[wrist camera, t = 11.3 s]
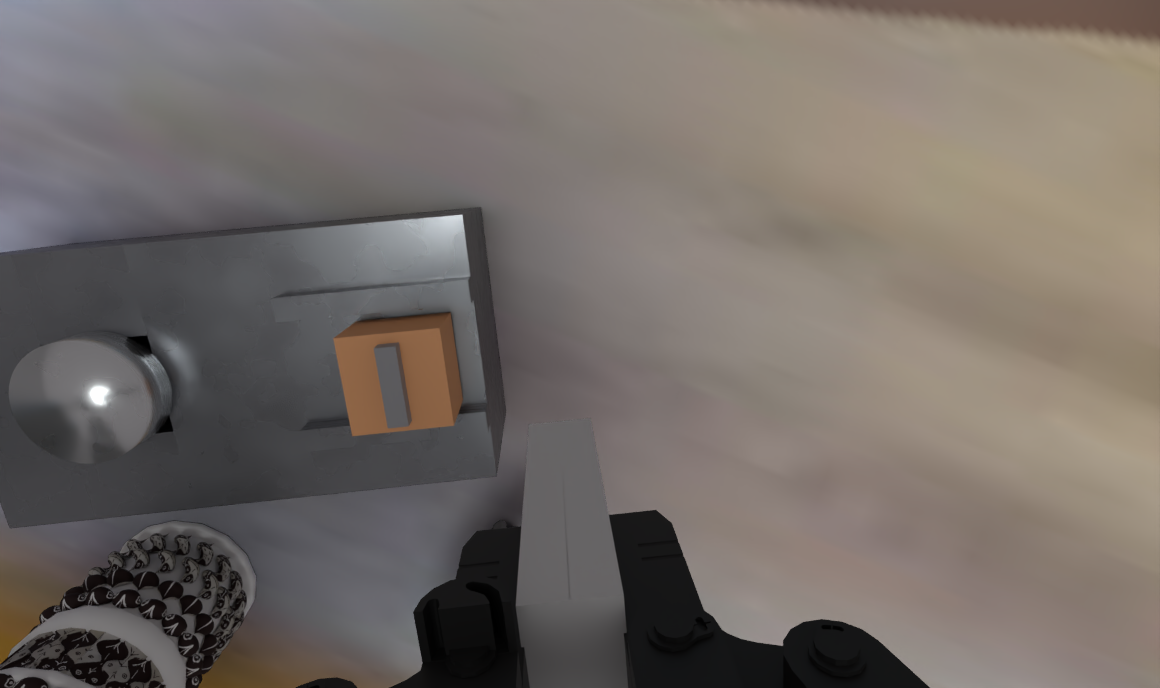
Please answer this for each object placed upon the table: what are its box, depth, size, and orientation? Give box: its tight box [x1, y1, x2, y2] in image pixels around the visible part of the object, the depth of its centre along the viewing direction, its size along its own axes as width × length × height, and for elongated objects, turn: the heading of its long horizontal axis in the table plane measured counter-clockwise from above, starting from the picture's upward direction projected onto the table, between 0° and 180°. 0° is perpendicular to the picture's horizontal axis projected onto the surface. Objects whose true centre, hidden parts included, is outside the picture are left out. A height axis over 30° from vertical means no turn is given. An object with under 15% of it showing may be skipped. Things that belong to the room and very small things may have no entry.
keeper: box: [333, 312, 463, 436], centre depth 25 cm, size 4×4×4 cm
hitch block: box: [0, 207, 506, 528], centre depth 30 cm, size 22×12×10 cm, turn 95°
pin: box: [9, 331, 172, 464], centre depth 29 cm, size 5×5×10 cm
